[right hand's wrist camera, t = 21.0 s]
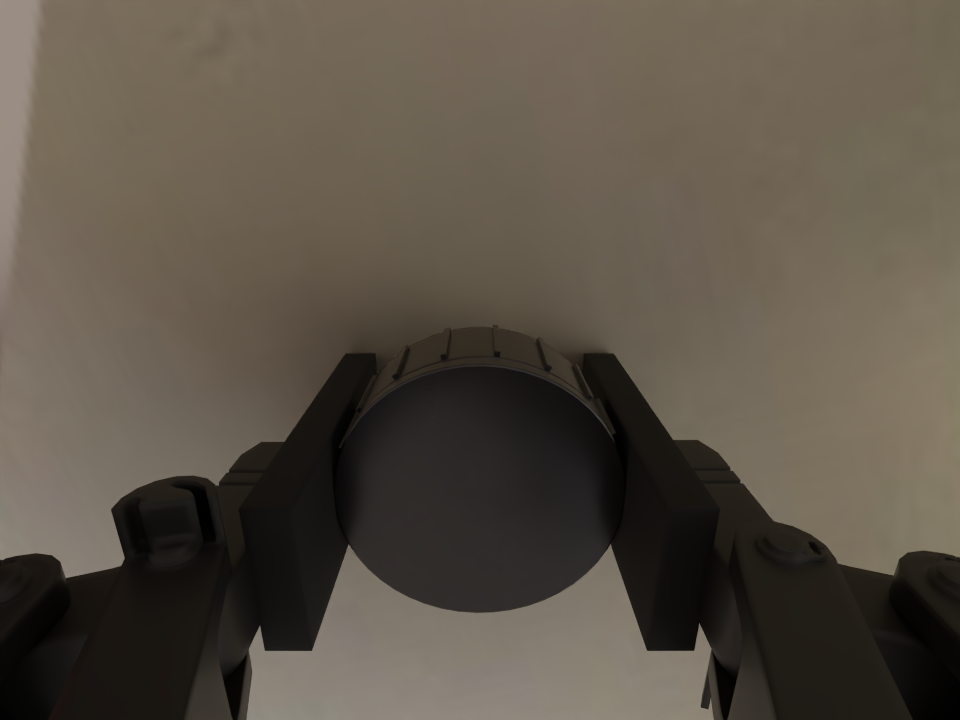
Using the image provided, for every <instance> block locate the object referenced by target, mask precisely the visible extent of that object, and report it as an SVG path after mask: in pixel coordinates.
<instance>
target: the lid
mask: <svg viewBox="0 0 960 720" xmlns="http://www.w3.org/2000/svg"><path fill="white" fill-rule="evenodd" d="M357 411H358V412H357ZM617 437H618V436H617V434H616V432H615V429H614V427H613V425H612V423H611V421H610V419H609V417H608V415H607V413H606V411H605V409H604V407H603V405H602V403H601V401H600V399H599V398H598V399H595V397H594V395H593V393H592V391H591V389H590V388H589V386H588V384H587V383H586V381H585V379H584V377H583V375H582V372H581V370H580V368H579V366H578V365H577V364H576V363H575V364H574V365H572V364H571V363H570V362H569V361H568V360H567V359H566V358H565V357H563V356H562V355H561V354H560V353H558V352H557V351H555V350H554V349H552V348H551V347H549V346H548V345H546V344H544V341H543V339H541V338H538V339H537V340H536V339H534V338H532V337H529V336H526V335H523V334H521V333H518V332H513V331H509V330H504V329H498V326H496V325H493V328H487V327H475V328H462V329H456V330H451V328H446V329H445V332H443V333H439V334H436V335H432V336H430V337H428V338H426V339H423V340H421V341H419V342H417V343H415V344H414V345H412V346H410V347H408V346H407V345H406V346H404V347H403V348H402V351H401V353H400V354H399V355H397V356H396V357H395V358H394V359H393V360H391V361H390V362H389V363H388V364H387V365H386V367H385V368H384V369H383V370H382V371H381V372H380V373H379V375H378V376H376V375H375V374H374V375H373V376H372V378H371V380H370V382H369V384H368V386H367V388H366V390H365V392H364V394H363V396H362V398H361V400H360V402H359V404H358V406H357V408H356V412H355V414H354V416H353V418H352V421H351V423H350V425H349V427H348V429H347V431H346V433H345V435H344V437H343V439H342V441H341V443H340V445H339V447H338V451H337V452H339V456H338V459H337V462H336V467H335V473H334V480H333V484H334V498H335V507H336V514H337V517H338V520H339V523H340V526H341V529H342V531H343V533H344V535H345V537H346V539H347V542H348V543H349V545H350V546H351V548H352V549H353V551H354V552H355V554H356V555H357V557H358V558H359V559H360V560H361V561H362V563H363V564H364V565H365V566H366V567H367V568H368V569H369V570H370V571H371V572H372V573H373V574H374V575H376V576H377V577H378V578H379V579H380V580H381V581H383V582H384V583H386V584H387V585H389V586H390V587H392V588H393V589H394V590H396V591H398V592H400V593H402V594H404V595H406V596H408V597H409V598H412V599H414V600H417V601H419V602H422V603H424V604H428V605H431V606H435V607H438V608H442V609H447V610H453V611H459V612H473V613H484V612H499V611H507V610H513V609H517V608H521V607H525V606H529V605H532V604H534V603H537V602H540V601H543V600H545V599H547V598H549V597H552V596H554V595H556V594H558V593H560V592H561V591H563V590H564V589H566V588H568V587H569V586H571V585H573V584H574V583H575V582H576V581H578V580H579V579H580V578H581V577H583V576H584V575H585V574H586V573H587V572H588V571H589V570H590V569H591V568H592V567H593V566H594V565H595V564H596V563H597V562H598V561H599V560H600V558H601V557H602V556H603V554H604V553H605V552H606V550H607V549H608V547H609V545H610V544H611V542H612V540H613V538H614V536H615V535H616V532H617V529H618V527H619V524H620V522H621V519H622V514H623V508H624V499H625V490H626V480H625V470H624V466H623V462H622V458H621V454H620V451H619V449H618V447H617V444H616V442H615V439H614V438H617Z"/></svg>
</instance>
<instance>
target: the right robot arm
mask: <svg viewBox="0 0 960 720" xmlns="http://www.w3.org/2000/svg"><path fill="white" fill-rule="evenodd" d="M374 374H375V375H376V376H377V373H376V359H375V354H345V355H344V357H343V358H342V360H341V361H340V363H339V364H338V365H337V367H336V368H335V370H334V371H333V373H332V374H331V376H330V377H329V379H328V380H327V381H326V383H325V384H324V386H323V387H322V389H321V390H320V392H319V393H318V394H317V396H316V397H315V399H314V400H313V402H312V403H311V405H310V406H309V407H308V409H307V410H306V412H305V413H304V415H303V416H302V418H301V419H300V420H299V422H298V423H297V425H296V426H295V428H294V429H293V431H292V432H291V434H290V435H289V436H288V438H287V439H286V441H285V442H261V443H259V444H258V445H256V446H254V447H253V448H251V449H250V450H248V451H247V452H245V453H243V454H242V455H241V456H240V457H239V458H238V460H237V461H236V462H235V463H234V464H233V466H232V467H231V468H230V469H229V473H226V474H225V476H224V477H223V478H222V479H221V481H220V482H219V486H215V484H214V483H212V482H211V481H210V480H208V479H207V478H202V477H197V476H176V477H171V478H167V479H162V480H158V481H155V482H152V483H150V484H147V485H144V486H142V487H139V488H137V489H135V490H134V491H132V492H131V493H129V494H127V495H126V496H124V497H123V498H121V499H120V500H119V501H118V502H117V504H116V505H115V506H114V507H113V508H112V509H111V511H112V515H113V518H114V522H115V525H116V529H117V532H118V536H119V539H120V543H121V546H122V550H123V553H124V557H125V559H124V561H123V564H122V566H120V567H116V568H112V569H108V570H103V571H98V572H94V573H89V574H84V575H79V576H74V577H70V578H65V575H64V572H63V569H62V566H61V563H60V561H58V560H57V559H56V558H55V557H53V556H52V555H45V554H37V553H35V554H28V555H21V556H14V557H10V558H6V559H4V560H0V720H246V718H247V710H248V702H249V694H250V686H251V678H252V667H251V660H250V655H249V650H248V649H249V647H250V645H251V643H252V641H253V639H254V636H255V634H256V632H257V630H258V628H259V626H260V627H261V632H262V638H263V643H264V648H265V651H312V649H313V646H314V643H315V640H316V637H317V634H318V631H319V629H320V626H321V623H322V620H323V617H324V614H325V611H326V608H327V605H328V602H329V599H330V596H331V594H332V591H333V588H334V585H335V582H336V579H337V576H338V573H339V570H340V567H341V564H342V562H343V559H344V556H345V553H346V550H347V547H348V544H349V543H348V542H347V539H346V537H345V535H344V533H343V531H342V529H341V526H340V523H339V520H338V517H337V514H336V507H335V498H334V484H333V480H334V473H335V467H336V462H337V459H338V456H339V452H337V451H338V447H339V445H340V443H341V441H342V439H343V437H344V435H345V433H346V431H347V429H348V427H349V425H350V423H351V421H352V418H353V416H354V414H355V412H356V408H357V406H358V404H359V402H360V400H361V398H362V396H363V394H364V392H365V390H366V388H367V386H368V384H369V382H370V380H371V378H372V376H373V375H374ZM583 377H584V379H585V381H586V383H587V384H588V386H589V388H590V389H591V391H592V393H593V395H594V397H595V399H598V398H599V399H600V401H601V403H602V405H603V407H604V409H605V411H606V413H607V415H608V417H609V419H610V421H611V423H612V425H613V427H614V429H615V432H616V434H617V436H618V437H617V438H614V439H615V442H616V444H617V447H618V449H619V451H620V454H621V458H622V462H623V466H624V470H625V480H626V490H625V499H624V508H623V514H622V519H621V522H620V524H619V527H618V529H617V532H616V535H615V536H614V538H613V540H612V542H611V546H612V549H613V552H614V555H615V558H616V561H617V564H618V567H619V570H620V573H621V576H622V579H623V582H624V584H625V587H626V590H627V593H628V596H629V599H630V602H631V605H632V608H633V611H634V614H635V617H636V620H637V622H638V625H639V628H640V631H641V634H642V637H643V640H644V643H645V646H646V649H647V651H694V648H695V643H696V638H697V632H698V627H699V623H700V625H701V627H702V629H703V631H704V634H705V636H706V638H707V640H708V642H709V644H710V646H711V648H712V650H711V655H710V660H709V665H708V670H707V675H706V680H705V685H704V689H703V694H702V702H701V708H705V709H708V708H709V704H710V699H711V701H712V709H713V717H714V720H960V558H959V557H958V558H957V557H955V556H953V555H948V554H944V553H937V552H930V551H917V552H909V553H907V554H905V555H904V556H903V557H902V558H900V559H899V562H898V565H897V568H896V571H895V574H894V576H892V575H888V574H883V573H878V572H873V571H868V570H864V569H859V568H854V567H849V566H845V565H842V564H838V563H837V560H836V558H835V557H834V556H833V554H832V553H831V552H830V550H829V549H828V548H827V546H826V545H824V544H823V543H822V542H820V541H819V540H817V539H816V538H815V537H813V536H812V535H811V534H808V533H806V532H804V531H802V530H800V529H797V528H795V527H793V526H790V525H786V524H782V523H778V522H774V521H773V520H772V519H771V517H770V516H769V515H768V514H767V513H766V511H765V510H764V509H763V508H762V506H761V505H760V504H759V503H758V501H757V500H756V499H755V498H754V497H753V495H752V494H751V493H750V492H749V490H748V489H747V488H746V487H745V485H744V484H741V483H740V479H739V478H738V477H737V476H736V474H735V473H734V472H733V471H730V467H729V466H728V465H727V463H726V462H725V461H724V460H723V458H722V457H721V456H720V455H719V453H717V452H716V451H714V450H713V449H711V448H709V447H708V446H706V445H705V444H703V443H701V442H700V441H698V440H673V439H672V438H671V436H670V435H669V433H668V432H667V430H666V429H665V428H664V426H663V425H662V423H661V422H660V420H659V419H658V417H657V416H656V415H655V413H654V412H653V410H652V409H651V407H650V406H649V404H648V403H647V401H646V400H645V399H644V397H643V396H642V394H641V393H640V391H639V390H638V388H637V387H636V386H635V384H634V383H633V381H632V380H631V378H630V377H629V375H628V374H627V372H626V371H625V370H624V368H623V367H622V365H621V364H620V362H619V361H618V359H617V358H616V356H615V355H614V354H584V362H583ZM357 412H358V411H357Z"/></svg>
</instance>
